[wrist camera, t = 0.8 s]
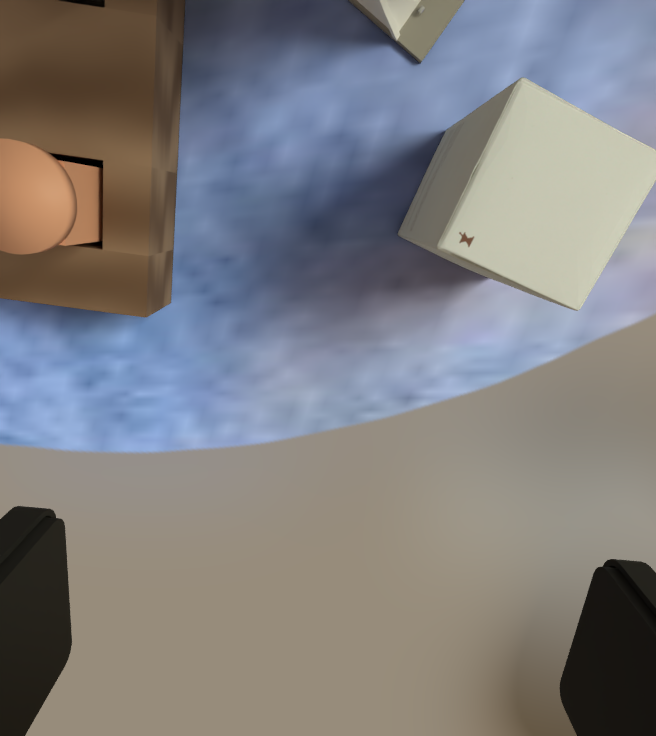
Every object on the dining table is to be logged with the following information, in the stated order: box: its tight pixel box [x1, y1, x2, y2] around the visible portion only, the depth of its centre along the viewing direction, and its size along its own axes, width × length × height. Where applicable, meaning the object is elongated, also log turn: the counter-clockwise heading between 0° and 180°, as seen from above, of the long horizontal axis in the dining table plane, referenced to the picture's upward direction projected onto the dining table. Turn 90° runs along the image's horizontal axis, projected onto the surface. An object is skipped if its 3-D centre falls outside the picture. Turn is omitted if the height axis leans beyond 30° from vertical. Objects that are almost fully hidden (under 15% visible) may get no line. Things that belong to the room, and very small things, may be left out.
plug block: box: [0, 0, 185, 317], centre depth 29 cm, size 24×10×5 cm, turn 172°
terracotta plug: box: [0, 138, 103, 255], centre depth 27 cm, size 5×5×6 cm
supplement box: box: [398, 78, 656, 311], centre depth 27 cm, size 7×7×13 cm
